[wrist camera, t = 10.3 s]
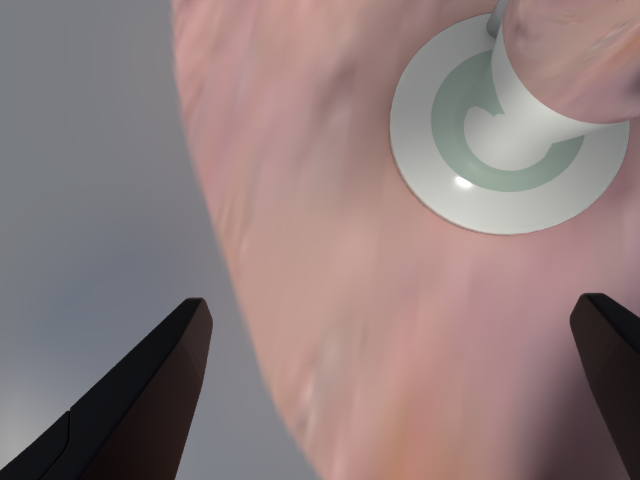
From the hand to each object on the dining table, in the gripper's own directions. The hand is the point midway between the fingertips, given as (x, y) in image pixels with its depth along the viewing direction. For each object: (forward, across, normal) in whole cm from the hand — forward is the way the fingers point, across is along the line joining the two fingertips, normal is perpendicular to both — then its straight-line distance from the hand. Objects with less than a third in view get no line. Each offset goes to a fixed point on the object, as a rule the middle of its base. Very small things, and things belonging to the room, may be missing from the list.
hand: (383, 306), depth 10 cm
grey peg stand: (+16, -8, +3) cm, 18 cm away
